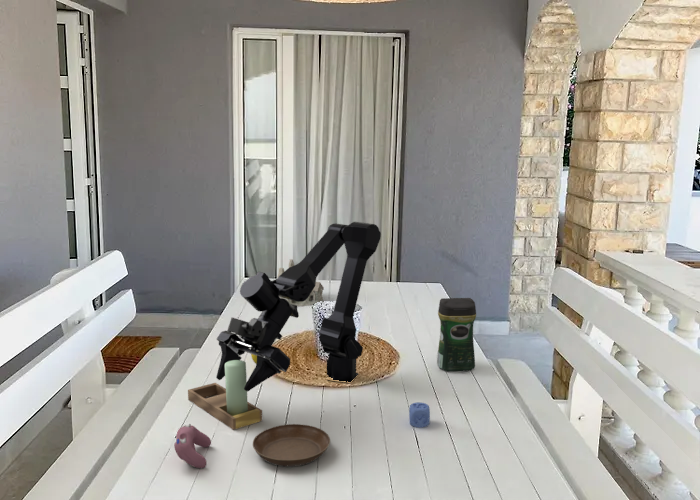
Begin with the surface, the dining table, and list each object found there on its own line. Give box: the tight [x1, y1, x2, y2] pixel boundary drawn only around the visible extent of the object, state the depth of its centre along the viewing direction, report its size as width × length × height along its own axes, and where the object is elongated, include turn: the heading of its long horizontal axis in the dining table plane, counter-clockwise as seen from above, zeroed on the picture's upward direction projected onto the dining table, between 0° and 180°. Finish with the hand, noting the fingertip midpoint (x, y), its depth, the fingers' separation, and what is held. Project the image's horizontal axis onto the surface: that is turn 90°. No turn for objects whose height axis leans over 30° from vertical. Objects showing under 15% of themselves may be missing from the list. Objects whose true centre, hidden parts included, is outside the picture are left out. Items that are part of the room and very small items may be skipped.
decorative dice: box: [408, 402, 431, 429], centre depth 145 cm, size 4×4×4 cm
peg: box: [224, 359, 249, 416], centre depth 145 cm, size 4×4×12 cm
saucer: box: [252, 423, 331, 468], centre depth 132 cm, size 15×15×3 cm
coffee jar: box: [436, 297, 477, 373], centre depth 176 cm, size 10×8×19 cm
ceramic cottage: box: [277, 258, 325, 308], centre depth 240 cm, size 16×16×15 cm
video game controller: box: [173, 423, 212, 469], centre depth 129 cm, size 10×5×7 cm, turn 6°
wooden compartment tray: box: [187, 382, 263, 431], centre depth 151 cm, size 20×7×2 cm, turn 40°
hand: (231, 384), depth 144 cm, fingers open, 9 cm apart
